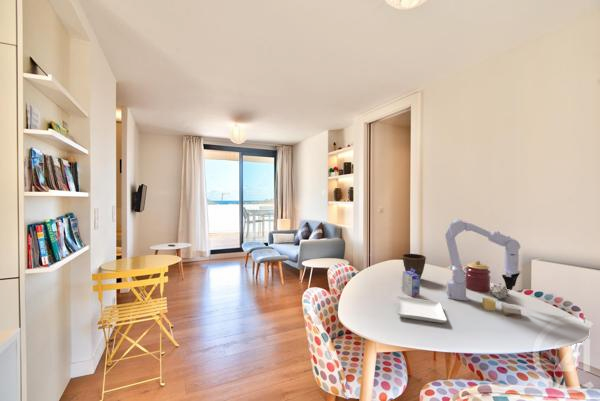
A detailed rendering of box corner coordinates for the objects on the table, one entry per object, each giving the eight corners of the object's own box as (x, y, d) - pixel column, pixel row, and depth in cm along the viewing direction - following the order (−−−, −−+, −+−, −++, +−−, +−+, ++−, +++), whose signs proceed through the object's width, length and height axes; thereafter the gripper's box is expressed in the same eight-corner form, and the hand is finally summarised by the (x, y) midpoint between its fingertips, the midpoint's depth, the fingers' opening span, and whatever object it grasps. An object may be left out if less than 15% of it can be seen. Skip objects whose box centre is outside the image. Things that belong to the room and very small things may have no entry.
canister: (493, 289, 158) (494, 261, 158) (484, 294, 151) (485, 264, 151) (470, 283, 169) (470, 256, 169) (461, 287, 162) (461, 259, 161)
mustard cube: (484, 309, 132) (484, 300, 132) (482, 306, 136) (482, 297, 136) (495, 311, 130) (495, 302, 130) (492, 307, 134) (492, 298, 134)
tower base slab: (505, 316, 125) (505, 312, 125) (501, 311, 130) (501, 307, 130) (520, 319, 122) (520, 314, 122) (516, 313, 128) (516, 309, 128)
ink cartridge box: (420, 296, 149) (420, 271, 148) (411, 297, 148) (411, 272, 147) (409, 290, 158) (409, 266, 158) (401, 291, 157) (401, 267, 157)
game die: (504, 306, 144) (516, 296, 138) (488, 299, 145) (499, 289, 139) (499, 293, 151) (511, 283, 145) (484, 287, 152) (495, 277, 146)
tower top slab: (505, 312, 125) (505, 307, 125) (501, 307, 130) (501, 302, 130) (520, 314, 122) (520, 309, 122) (516, 309, 128) (516, 304, 128)
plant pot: (413, 283, 169) (413, 259, 169) (397, 277, 183) (397, 254, 183) (430, 281, 175) (430, 257, 174) (413, 274, 188) (413, 252, 188)
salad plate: (447, 327, 115) (447, 320, 115) (396, 319, 122) (396, 312, 122) (440, 307, 135) (440, 301, 135) (396, 302, 142) (396, 296, 142)
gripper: (518, 266, 127) (518, 293, 127) (523, 260, 136) (522, 286, 137) (500, 263, 132) (500, 289, 132) (506, 258, 142) (506, 282, 142)
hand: (510, 287), depth 135 cm, fingers open, 7 cm apart
